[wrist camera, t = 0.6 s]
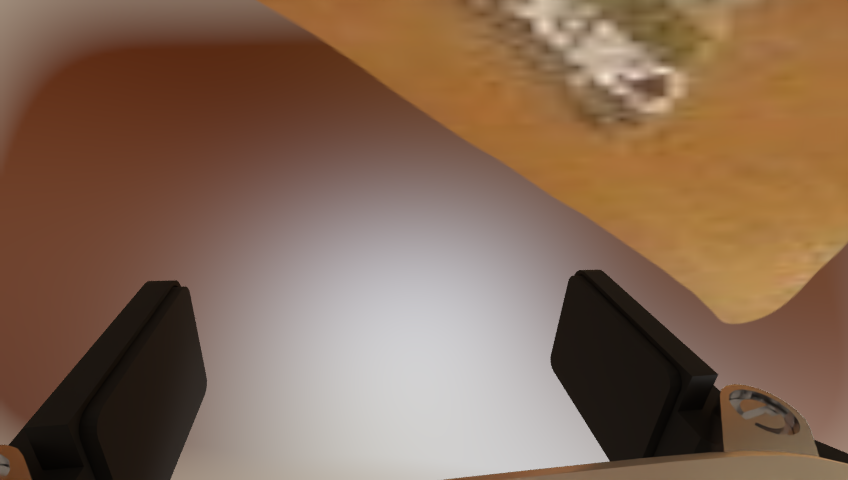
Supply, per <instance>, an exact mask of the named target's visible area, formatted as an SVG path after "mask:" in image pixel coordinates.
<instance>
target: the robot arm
mask: <svg viewBox="0 0 848 480" xmlns="http://www.w3.org/2000/svg"><path fill="white" fill-rule="evenodd" d="M551 366H552V369H553V371H554V373H555V374H556V376H557V377H558V379H559V380H560V382H561V384H562V385H563V387H564V389H565V390H566V392H567V393H568V395H569V396H570V398H571V399H572V401H573V403H574V404H575V406H576V408H577V409H578V411H579V412H580V414H581V415H582V417H583V419H584V420H585V422H586V424H587V425H588V427H589V428H590V430H591V432H592V433H593V435H594V436H595V438H596V440H597V441H598V443H599V444H600V446H601V448H602V449H603V451H604V452H605V454H606V456H607V457H608V459H609V460H610V462H602V463H592V464H583V465H574V466H564V467H554V468H545V469H536V470H527V471H517V472H508V473H499V474H490V475H482V476H472V477H463V478H454V479H446V480H848V454H847V453H845V452H842V451H840V450H838V449H835V448H833V447H830V446H828V445H826V444H823V443H821V442H818V441H816V440H814V438H813V435H812V432H811V429H810V427H809V425H808V423H807V421H806V420H805V418H804V417H803V416H802V415H800V413H799V412H798V411H797V410H796V409H794V408H793V407H792V406H791V405H789V404H788V403H787V402H785V401H783V400H782V399H780V398H778V397H776V396H774V395H773V394H771V393H768V392H766V391H764V390H761V389H759V388H755V387H751V386H747V385H740V384H732V385H727V386H725V387H724V388H722V389H721V391H719V390H718V389H717V388H716V387H715V386H714V385H713V384H714V382H715V380H716V378H717V376H718V374H717V373H716V372H715V371H713V369H711V368H710V367H709V366H708V365H707V364H706V363H705V362H704V361H702V360H701V359H700V358H699V357H698V356H697V355H696V354H695V353H693V352H692V351H691V350H690V349H689V348H688V347H687V346H686V345H685V344H683V343H682V342H681V341H680V340H679V339H678V338H677V337H675V336H674V335H673V334H672V333H671V332H670V331H669V330H668V329H667V328H666V327H665V326H663V325H662V324H661V323H660V322H659V321H658V320H657V319H656V318H654V317H653V316H652V315H651V314H650V313H649V312H648V311H647V310H645V309H644V308H643V307H642V306H641V305H640V304H639V303H638V302H637V301H636V300H634V299H633V298H632V297H631V296H630V295H629V294H628V293H627V292H625V291H624V290H623V289H622V288H621V287H620V286H619V285H617V283H615V282H614V281H613V280H612V279H611V278H610V277H609V276H607V274H605V273H604V272H603V271H601V270H579V271H577V272H576V274H575V275H574V276H571V277H570V279H569V281H568V286H567V290H566V294H565V298H564V302H563V307H562V311H561V315H560V320H559V324H558V328H557V332H556V337H555V341H554V345H553V349H552V353H551ZM206 386H207V378H206V372H205V367H204V362H203V358H202V352H201V347H200V342H199V337H198V332H197V327H196V322H195V317H194V312H193V307H192V302H191V296H190V292H189V289H188V288H187V287H181V286H180V284H179V282H178V281H148V282H146V283H145V284H144V285H143V287H142V288H141V289H140V290H139V291H138V292H137V294H136V295H135V296H134V297H133V298H132V300H131V301H130V302H129V303H128V304H127V306H126V307H125V308H124V309H123V310H122V311H121V313H120V314H119V315H118V316H117V317H116V319H115V320H114V321H113V322H112V323H111V324H110V326H109V327H108V328H107V329H106V330H105V332H104V333H103V334H102V335H101V336H100V337H99V339H98V340H97V341H96V342H95V343H94V345H93V346H92V347H91V348H90V349H89V350H88V352H87V353H86V354H85V355H84V357H83V358H82V359H81V360H80V361H79V362H78V364H77V365H76V366H75V367H74V368H73V369H72V371H71V372H70V373H69V374H68V375H67V376H66V378H65V379H64V380H63V381H62V383H61V384H60V385H59V386H58V387H57V389H56V390H55V391H54V392H53V393H52V394H51V395H50V397H49V398H48V399H47V400H46V401H45V402H44V404H43V405H42V406H41V407H40V408H39V410H38V411H37V412H36V413H35V414H34V416H33V417H32V418H31V419H30V420H29V421H28V423H27V424H26V425H25V426H24V427H23V429H22V430H21V431H20V432H19V434H18V435H17V436H16V437H15V438H14V439H13V441H12V442H11V443H10V444H9V445H0V480H170V479H171V476H172V474H173V471H174V469H175V466H176V464H177V461H178V459H179V457H180V454H181V452H182V449H183V447H184V444H185V442H186V439H187V437H188V435H189V432H190V430H191V427H192V424H193V422H194V420H195V417H196V415H197V413H198V410H199V408H200V405H201V402H202V400H203V398H204V395H205V392H206Z"/></svg>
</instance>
